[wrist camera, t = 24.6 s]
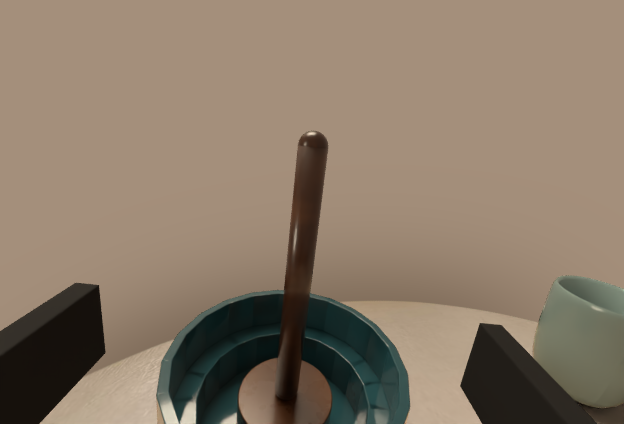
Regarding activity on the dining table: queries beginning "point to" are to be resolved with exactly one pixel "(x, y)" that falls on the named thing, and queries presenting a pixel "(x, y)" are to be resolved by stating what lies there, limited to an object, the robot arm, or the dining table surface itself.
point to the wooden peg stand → (294, 313)
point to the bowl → (264, 346)
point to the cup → (583, 340)
